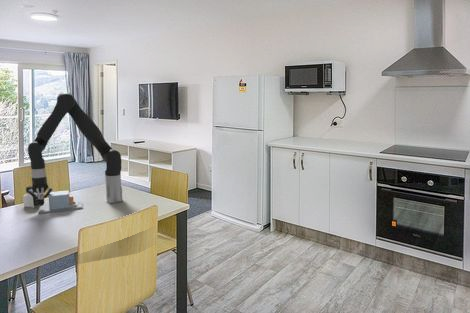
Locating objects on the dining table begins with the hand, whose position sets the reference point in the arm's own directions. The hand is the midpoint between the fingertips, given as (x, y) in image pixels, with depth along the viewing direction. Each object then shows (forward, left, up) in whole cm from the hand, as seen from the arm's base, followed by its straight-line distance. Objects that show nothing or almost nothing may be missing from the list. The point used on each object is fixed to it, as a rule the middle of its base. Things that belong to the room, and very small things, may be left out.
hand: (41, 204), depth 207 cm
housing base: (-10, 0, -3) cm, 11 cm away
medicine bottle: (+6, -13, -4) cm, 14 cm away
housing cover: (-9, 0, -2) cm, 10 cm away
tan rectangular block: (-15, 0, -2) cm, 15 cm away
